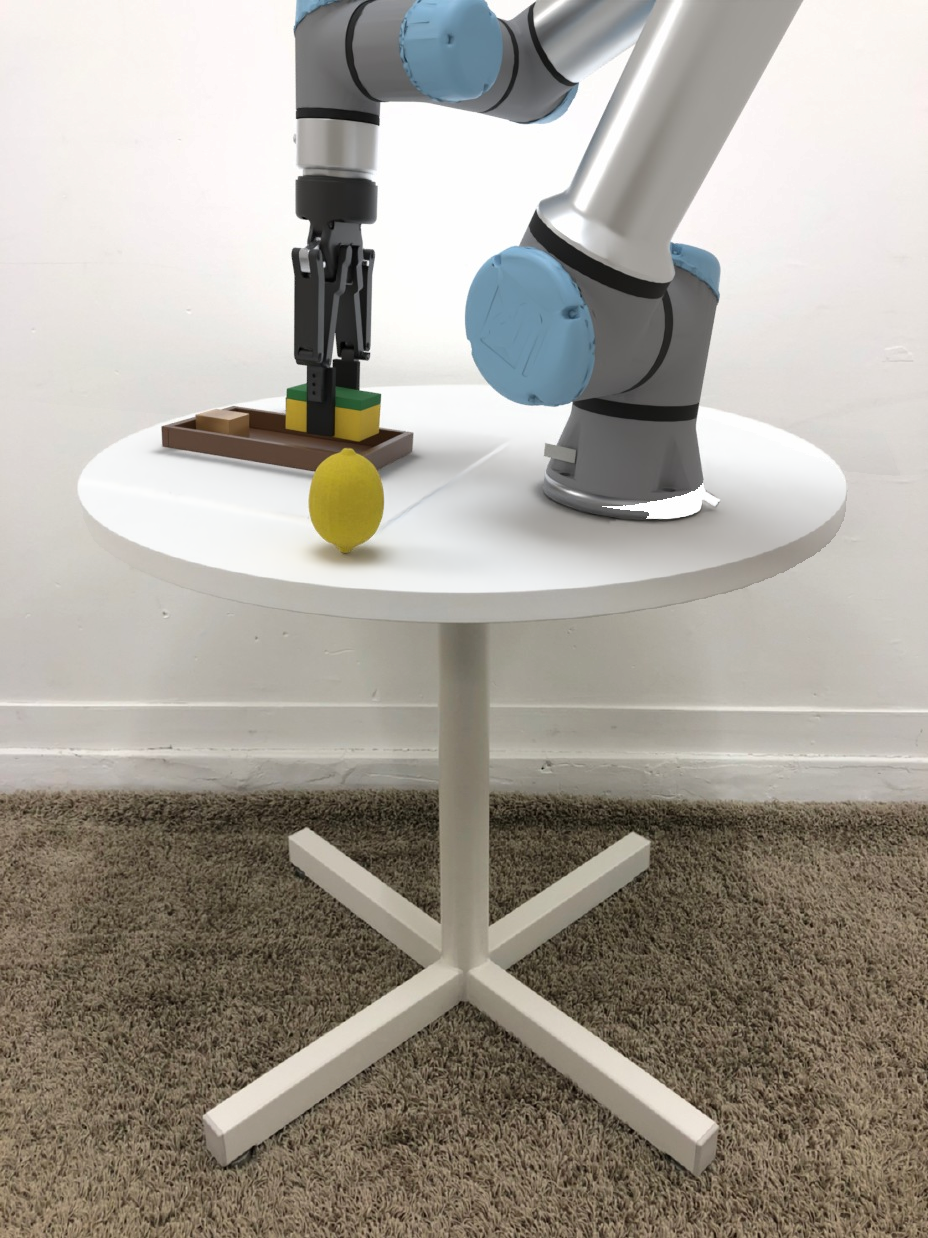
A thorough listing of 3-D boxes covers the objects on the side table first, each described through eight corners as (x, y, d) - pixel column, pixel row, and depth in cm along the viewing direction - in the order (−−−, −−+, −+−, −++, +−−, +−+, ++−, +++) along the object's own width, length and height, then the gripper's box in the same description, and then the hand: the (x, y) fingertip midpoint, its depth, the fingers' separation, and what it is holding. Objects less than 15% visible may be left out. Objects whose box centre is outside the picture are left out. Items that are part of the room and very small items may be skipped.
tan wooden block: (249, 437, 103) (249, 413, 102) (229, 444, 99) (229, 419, 98) (216, 431, 104) (216, 408, 103) (195, 438, 100) (195, 414, 100)
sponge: (308, 420, 101) (309, 382, 99) (379, 433, 98) (381, 393, 97) (285, 428, 96) (286, 388, 95) (359, 441, 94) (361, 400, 93)
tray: (412, 456, 103) (413, 432, 102) (360, 484, 91) (361, 457, 90) (233, 428, 109) (233, 405, 108) (162, 451, 97) (160, 426, 96)
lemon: (305, 563, 70) (307, 455, 67) (310, 539, 75) (311, 437, 72) (382, 567, 71) (387, 459, 68) (381, 542, 76) (386, 441, 73)
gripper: (341, 179, 97) (337, 411, 106) (250, 166, 81) (254, 440, 90) (410, 183, 95) (401, 419, 104) (331, 171, 79) (328, 451, 88)
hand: (333, 429), depth 97 cm, fingers closed on sponge, 5 cm apart
